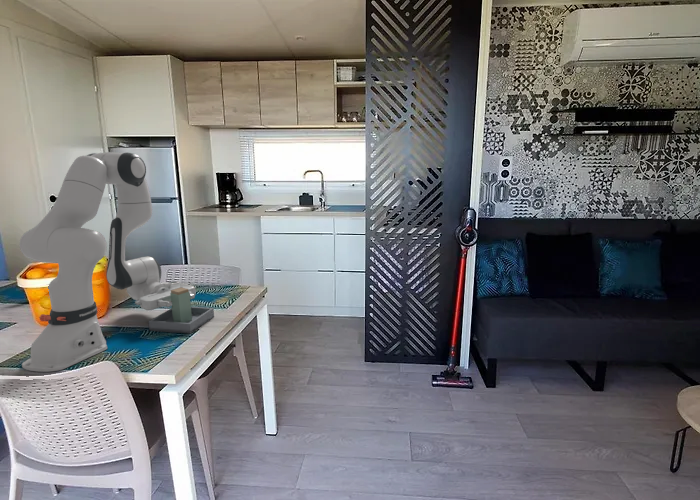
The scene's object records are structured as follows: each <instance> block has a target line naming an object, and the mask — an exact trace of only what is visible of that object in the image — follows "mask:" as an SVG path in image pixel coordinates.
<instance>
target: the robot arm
mask: <svg viewBox="0 0 700 500" xmlns="http://www.w3.org/2000/svg"><path fill="white" fill-rule="evenodd" d="M146 174H147V166H146V163H145V162H144V160H143V159H142V157H141V156H140V155H138V154H136V153H132V152H114V151H107V152H106V151H105V152H104V151H103V152H99V153H98V152H92V153H89V154H86V155H80V156H77V157H76V158H74V161H73V162H72V164H71V165H70V167H69V169H68V170H67V172H66V174H65V177H64V179H63V181H62V184H61V186H60V190H59V192H58V195H57V197H56V199H55V201H54V204H53V206H52V207H51V209H50V210H49V211H48V212H47V214H46V215H45V216H44V217H43V218H42V219H41V220H40V221H39V223H37V224H36V225H35V226H34V227H32V228H31V229H29V230H27V231H26V232H24V233H23V235H22V236H21V237H20V240H19V250H20V252H21V253H22V255H23V256H24V257H25V258H26V259H27V258H28V259H29V260H31V261H35V262H38V263H44V264H45V263H46V264H58V271H57V272H58V273H57V275H56V277H55V278H54V279H52V280H51V281H50V282H49V283H48V285H49V286H48V289H49V290H48V291H49V300H50V305H51V306H50V307H51V309H50V312H49V314H44V313H43V314H41V315H40V316H39V321H40V322H47V325H46V326H45V327H44V329H43V330H42V331H41V333H40V334H38V336H37V337H36V339H35V340H34V341H33V342H32V343H31V346H30V357H29V358H28V359H27V360H25V361H23V362H21V368H22V369H23V370H26V371H31V372H39V373H40V372H42V373H43V372H45V373H49V372H57V371H62V370H65V369H67V368H69V367H71V366H73V365H76V364H78V363H80V362H81V361H84V360H86V359H89V358H90V357H93V356H95V355H97V354H99V353H102V352H104V351H106V350H108V345H107V339H106V338H105V337H104V335H103V332H102V328H101V325H100V322H99V320H98V315H97V314H98V306H97V302H96V301H95V299H94V290H93V274H94V270H95V268H96V265H97V264H98V263H99V262H100V261H101V260H103V258H104V257H105V256H106V252H107V249H108V263H107V268H106V275H105V276H106V280H107V283H108V284H109V285H110V286H111V287H113V288H114V289H118V290H126V293H127V294H128V296H129V297H130V298H131V299H133V300H135V301H134V304H135V305H137V306H140V308H141V309H143V310H146V311H154V310H156V309H159V308H163V307H164V308H165V307H166V308H170V307H172V301H171V295H170V293H171V290H174V289H177V288H186V289H188V291H189V293H190V300H193V299H195V296H196V293H197V292H196V287H195V286H194V285H192V284H191V285H190V284H187V283H181V282H180V281H179V280H178V281H170V282H164V281H163V282H161V279H162V268H161V267H162V266H161V265H160V263H159V262H158V260H157V259H156V258H154V257H153V256H150V255H148V256H141V257H138V258H133V259H129V260H126V243H127V238H128V236H130V234H131V233H133V232H135V230H137V229H140V228H141V227H143V226H144V225H145V224H147V223H148V222H149V221H150V219H151V217H152V215H153V206H152V204H153V203H152V197H151V193H150V188H149V185H148V182H147V179H146V178H145V177H146ZM106 185H114V186H115V188H116V191H117V192H116V194H117V197H116V199H117V206H118V208H117V213H116V216H115V217H114V218H113V219H112V221H111V222H110V228H109V241H108V243H109V245H108V243H107V240H106V238H105V236H104V235H103V234H102V233H101V232H100V231H96V230H94V229H93V230H92V229H89V228H85V227H83V226H84V225H85V224H86V223H88V222H90V221H91V220H93V219H94V218H96V216H97V214H98V211H99V207H100V205H101V201H102V199H103V196H104V192H105V188H106Z"/></svg>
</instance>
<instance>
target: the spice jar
mask: <svg viewBox="0 0 700 500" xmlns="http://www.w3.org/2000/svg"><path fill="white" fill-rule="evenodd" d="M170 295H171V301H172V306H171V308H172V314H173V322H181V323H186V322H188V321H191V320H192V313H191V307H192V305H191V299H190V293H189V291H188V289H186V288H177V289H174V290H171V293H170Z"/></svg>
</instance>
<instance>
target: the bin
mask: <svg viewBox="0 0 700 500" xmlns="http://www.w3.org/2000/svg"><path fill="white" fill-rule="evenodd" d="M191 313H192V320H191V321H188V322H186V323H181V322H173V314H172V307H171V308H169V309H167V310H166V311H164V312H163V313H160V314H159V315H158V316H157V315H156V316H155V317H153V318H152V319H149V320H148V322H147V323H148V331H150V332H163V333H179V334H192V333H194V332H195V331H196V330H198V329H199V328H200V327H202V326H204V325H205V324H206V323H209V322H210V320H212V319H214V317H215V312H214V307H201V306H200V307H199V306H191Z"/></svg>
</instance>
